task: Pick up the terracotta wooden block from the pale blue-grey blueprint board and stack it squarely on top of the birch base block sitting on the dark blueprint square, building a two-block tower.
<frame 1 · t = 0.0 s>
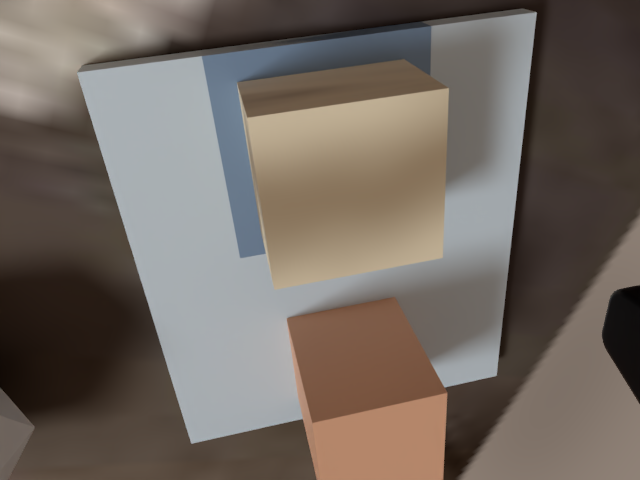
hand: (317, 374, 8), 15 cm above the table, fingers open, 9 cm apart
terracotta block: (344, 349, 26), point 1 cm above the table, touching blueprint board
birch base block: (328, 150, 21), point 1 cm above the table, touching blueprint board
blueprint board: (332, 249, 24), on the table
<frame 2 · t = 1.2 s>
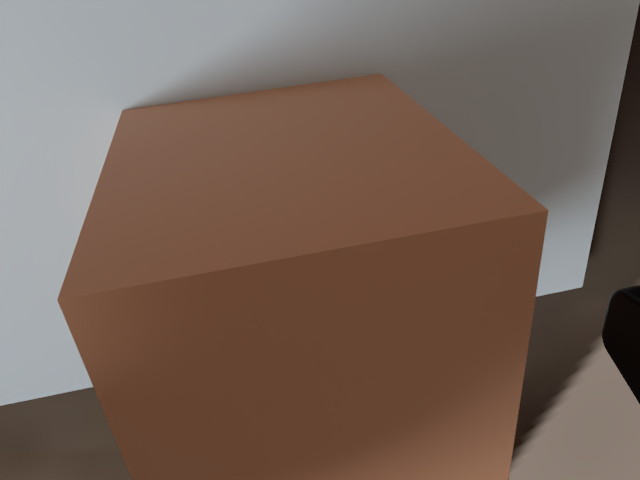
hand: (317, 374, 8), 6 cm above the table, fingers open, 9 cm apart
terracotta block: (272, 206, 12), point 1 cm above the table, touching blueprint board
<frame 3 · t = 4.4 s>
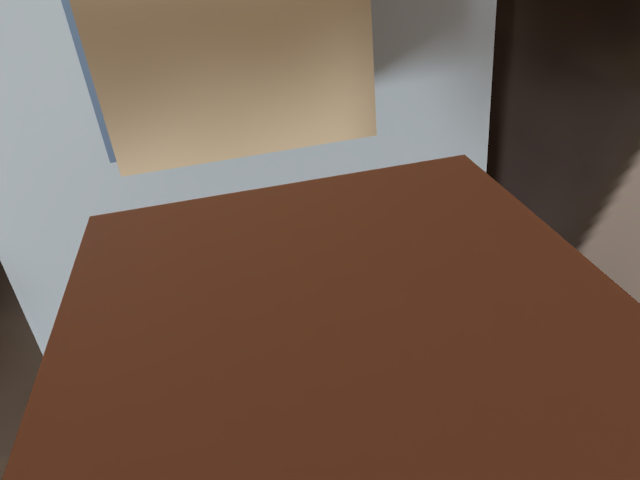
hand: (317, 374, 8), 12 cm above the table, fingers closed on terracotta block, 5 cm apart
terracotta block: (304, 330, 9), point 11 cm above the table, touching gripper
blueprint board: (247, 160, 18), on the table
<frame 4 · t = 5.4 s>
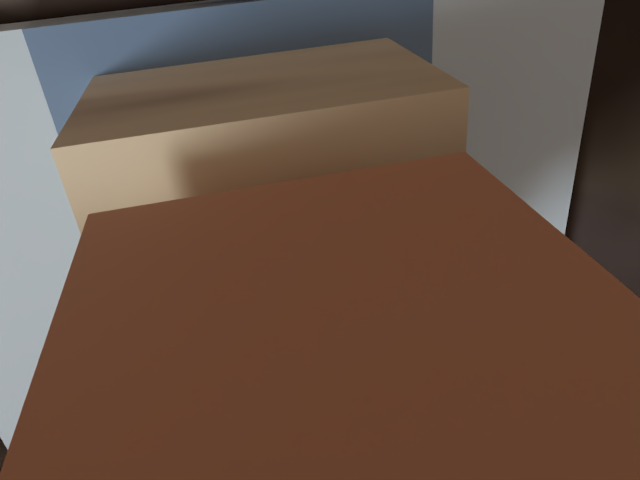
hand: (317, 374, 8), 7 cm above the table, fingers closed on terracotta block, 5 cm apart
terracotta block: (304, 328, 9), point 6 cm above the table, touching gripper
birch base block: (265, 189, 13), point 1 cm above the table, touching blueprint board
blueprint board: (284, 327, 16), on the table
when the fingers open (7 cm above the table, at t = 6.2 s): terracotta block stays where it is, resting on birch base block.
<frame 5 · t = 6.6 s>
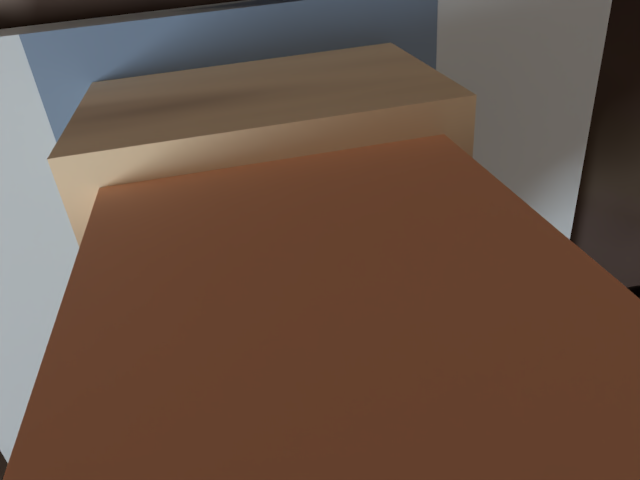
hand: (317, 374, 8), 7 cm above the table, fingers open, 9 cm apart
terracotta block: (296, 299, 9), point 5 cm above the table, touching birch base block
birch base block: (266, 196, 13), point 1 cm above the table, touching blueprint board, terracotta block
blueprint board: (285, 335, 16), on the table
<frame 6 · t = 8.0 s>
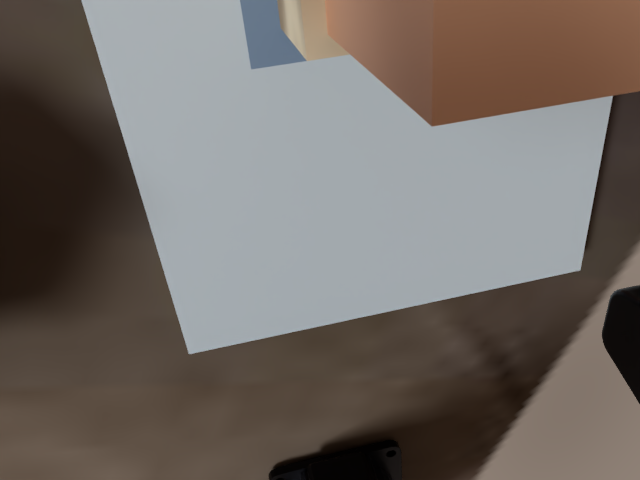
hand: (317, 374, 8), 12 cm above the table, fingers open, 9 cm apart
blueprint board: (376, 74, 18), on the table
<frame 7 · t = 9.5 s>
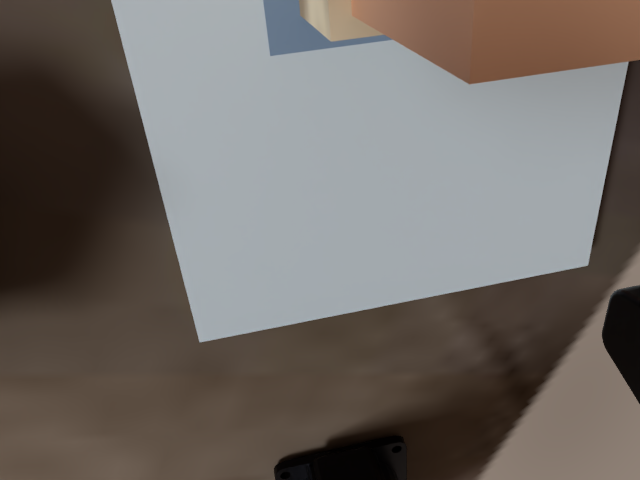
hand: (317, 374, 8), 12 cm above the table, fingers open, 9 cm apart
blueprint board: (391, 64, 18), on the table
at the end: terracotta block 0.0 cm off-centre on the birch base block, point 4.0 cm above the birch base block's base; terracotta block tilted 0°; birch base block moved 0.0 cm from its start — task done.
